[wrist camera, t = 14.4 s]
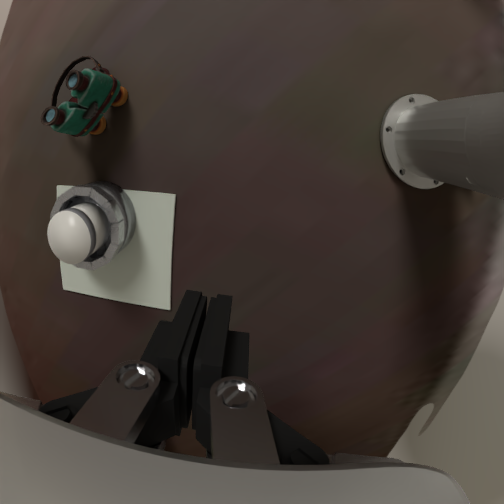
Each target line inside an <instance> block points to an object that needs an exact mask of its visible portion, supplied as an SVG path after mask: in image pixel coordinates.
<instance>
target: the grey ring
mask: <svg viewBox="0 0 504 504" xmlns="http://www.w3.org/2000/svg"><path fill="white" fill-rule="evenodd" d="M84 202H91V203H94V204H96V205H98V206H99V207H100V208H101V209H102V210H103V211H104V212H105V214H106V216H107V218H108V221H109V225H110V233H109V237H108V240H107V242H106V243H105V244H104V245H103V246H102V247H101V248H100V249H98V250H97V251H95V252H94V253H93V254H91V255H90V256H89V257H88V258H87V259H85V260H84V261H83V262H81V263H79V264H72V265H73V266H75V267H77V268H82V269H87V270H95V269H98V268H100V267H102V266H104V265H106V264H108V263H109V262H111V261H112V260H113V259H114V258H115V256H116V255H117V254H118V253H119V252H120V251H121V250H123V249H124V248H125V247H126V246H127V245H128V244H129V243H130V241H131V240H132V238H133V235H134V233H135V228H136V213H135V209H134V206H133V203H132V201H131V199H130V198H129V196H128V195H127V194H126V192H125V191H124V190H123V189H121V188H120V187H119V186H117V185H116V184H113V183H111V182H107V181H97V182H93V183H89V184H86V185H77V186H74V187H72V188H70V189H69V190H67V191H66V192H64V193H63V194H61V195H60V196H58V198H57V200H56V202H55V205H54V207H53V210H52V212H51V216H50V220H51V219H52V217H53V216H54V215H55V214H56V213H58V212H60V211H62V210H65V209H67V208H71V207H73V206H76V205H78V204H81V203H84Z"/></svg>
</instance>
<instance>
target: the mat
mask: <svg viewBox="0 0 504 504" xmlns="http://www.w3.org/2000/svg"><path fill="white" fill-rule="evenodd" d="M72 187H74V186H62V185H58V186H57V198H58V196H60V195H61V194H63V193H64V192H66V191H67V190H69V189H70V188H72ZM124 191H125V192H126V194H127V195H128V196H129V198H130V199H131V201H132V203H133V206H134V209H135V213H136V228H135V233H134V235H133V238H132V240H131V241H130V243H129V244H128V245H127V246H126V247H125V248H124V249H123V250H121V251H120V252H119V253H118V254H117V255H116V256H115V258H114V259H113V260H112V261H111V262H109V263H108V264H106V265H104V266H102V267H100V268H98V269H95V270H87V269H82V268H77V267H75V266H73V265H72V264H67V263H65V262H63V261H61V260H60V265H61V275H62V283H63V289H64V290H69V291H73V292H78V293H82V294H87V295H92V296H96V297H101V298H106V299H111V300H116V301H121V302H127V303H132V304H137V305H143V306H148V307H154V308H160V309H166V310H170V309H171V273H172V249H173V230H174V215H175V201H176V194H167V193H157V192H146V191H134V190H124Z"/></svg>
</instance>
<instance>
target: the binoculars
mask: <svg viewBox="0 0 504 504" xmlns="http://www.w3.org/2000/svg"><path fill="white" fill-rule="evenodd" d="M86 59H92V60H93V61H94V63H95V65H96V67H95V68H93V69H84V70H83V71H82V72H79V71H77V70H71V69H72V68H73V67H74V66H75V65H76V64H78V63H80V62H82V61H84V60H86ZM70 70H71V71H70ZM69 71H70V72H69ZM67 74H68V75H67ZM66 76H67V77H66ZM65 78H66V86H67V88H68V89H69V90H71V96H72V98H71V99H70V100H69V102H63V103H62V104H61V105H60V106H59V107H58V108H57V107H56V103H57V95H58V93H59V90H60V87H61V85H62V83H63V81H64V79H65ZM127 97H128V92H127V90H126V89H125V88H124V87H122V86H121V85H120V82H119V81H118V80H117V79H115V78H114V77H113V76H112V75H110V73H109V71H108V70H107V69H105V68H102V67H101V65H100V64H99V63H98V62H97V61H96V60H95V59H94V58H92V57H90V56H82V57H80V58H78V59H76V60H74V61H73V62H71V64H70V65H69V66H68V67H67V68H66V69H65V70H64V71H63V73H62V75H61V76H60V78H59V80H58V82H57V84H56V86H55V89H54V91H53V94H52V102H51V106H50V107H48V108H46V109H45V110H44V112H43V113H42V115H41V123H42V124H43V125H50V126H51V127H52V129H53V130H54V131H57V132H61V133H66V134H71V135H72V136H75V137H78V136H85V135H87V134H88V133H90V134H94V135H98V134H100V133H102V132H103V131H104V129H105V127H106V120H105V118H104V117H103V114H102V113H105V112H106V111H107V110H108V108H109V107H110V106H111V105H112V106H121V105H123V104H124V103H125V102H126V100H127ZM101 112H102V113H101Z"/></svg>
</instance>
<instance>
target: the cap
mask: <svg viewBox="0 0 504 504" xmlns="http://www.w3.org/2000/svg"><path fill="white" fill-rule="evenodd" d="M109 233H110V225H109V221H108V218H107V216H106V214H105V212H104V211H103V210H102V209H101V208H100V207H99V206H98V205H96V204H94V203H91V202H84V203H81V204H78V205H76V206H73V207H71V208H67V209H65V210H62V211H60V212H58V213H56V214H55V215H54V216H53V217H52V219H51V220H50V223H49V225H48V241H49V245H50V247H51V249H52V251H53V253H54V254H55V255H56V256H57V257H58V258H59V259H60V260H61V261H63V262H65V263H67V264H79V263H81V262H83V261H84V260H85V259H87V258H88V257H89V256H90V255H91V254H93V253H94V252H95V251H97V250H98V249H100V248H101V247H102V246H103V245H104V244H105V243H106V242H107V240H108V237H109Z"/></svg>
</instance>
